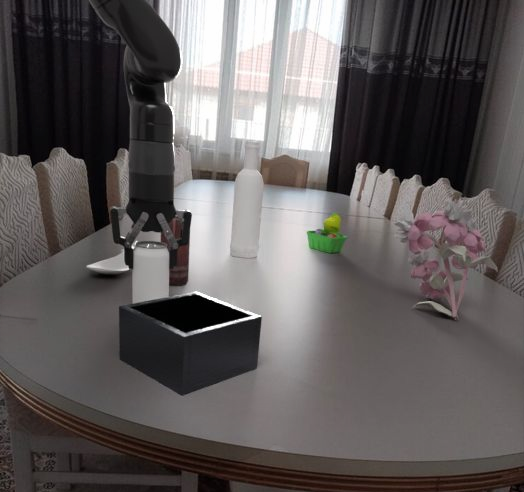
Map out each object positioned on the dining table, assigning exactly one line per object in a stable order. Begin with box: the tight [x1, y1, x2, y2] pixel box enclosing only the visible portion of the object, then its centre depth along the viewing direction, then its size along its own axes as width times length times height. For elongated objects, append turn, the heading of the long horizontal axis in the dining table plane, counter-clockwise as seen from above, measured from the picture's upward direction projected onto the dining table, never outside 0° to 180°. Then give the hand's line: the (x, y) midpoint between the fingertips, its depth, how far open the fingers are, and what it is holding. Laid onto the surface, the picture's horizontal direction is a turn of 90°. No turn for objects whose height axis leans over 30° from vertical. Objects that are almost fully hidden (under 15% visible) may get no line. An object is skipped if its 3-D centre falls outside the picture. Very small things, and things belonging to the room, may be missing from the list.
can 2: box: [160, 216, 191, 287], centre depth 111 cm, size 6×6×14 cm
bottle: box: [229, 139, 265, 259], centre depth 140 cm, size 8×8×30 cm
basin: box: [118, 291, 263, 396], centre depth 73 cm, size 14×14×8 cm
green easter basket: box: [305, 212, 348, 254], centre depth 162 cm, size 11×9×11 cm
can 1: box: [131, 240, 170, 304], centre depth 93 cm, size 6×6×12 cm
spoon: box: [85, 239, 138, 275], centre depth 124 cm, size 9×32×4 cm, turn 173°
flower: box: [392, 196, 499, 323], centre depth 111 cm, size 20×22×25 cm
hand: (150, 267), depth 93 cm, fingers closed on can 1, 6 cm apart
